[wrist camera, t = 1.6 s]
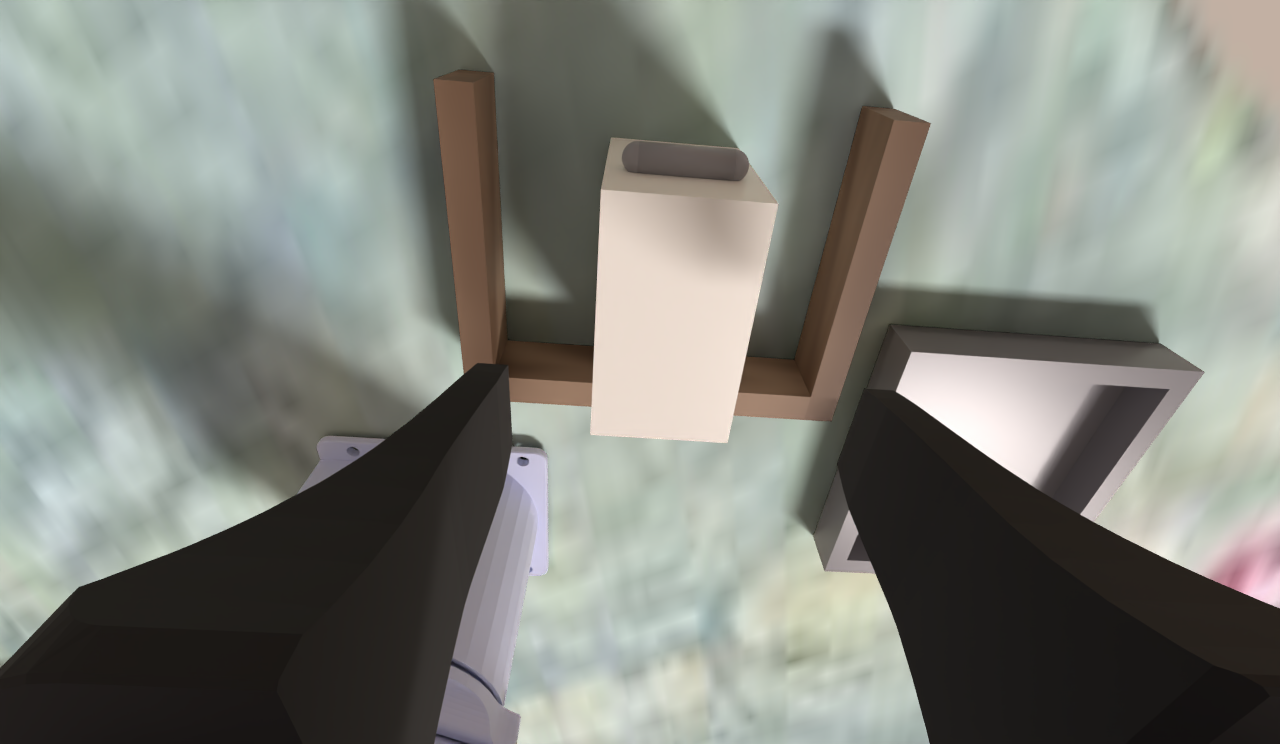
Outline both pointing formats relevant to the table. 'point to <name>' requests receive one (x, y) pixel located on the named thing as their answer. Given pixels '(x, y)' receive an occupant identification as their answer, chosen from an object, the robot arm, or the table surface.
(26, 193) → the table surface
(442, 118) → the bay
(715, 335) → the beige rectangular block
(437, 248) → the table surface
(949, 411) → the tray
